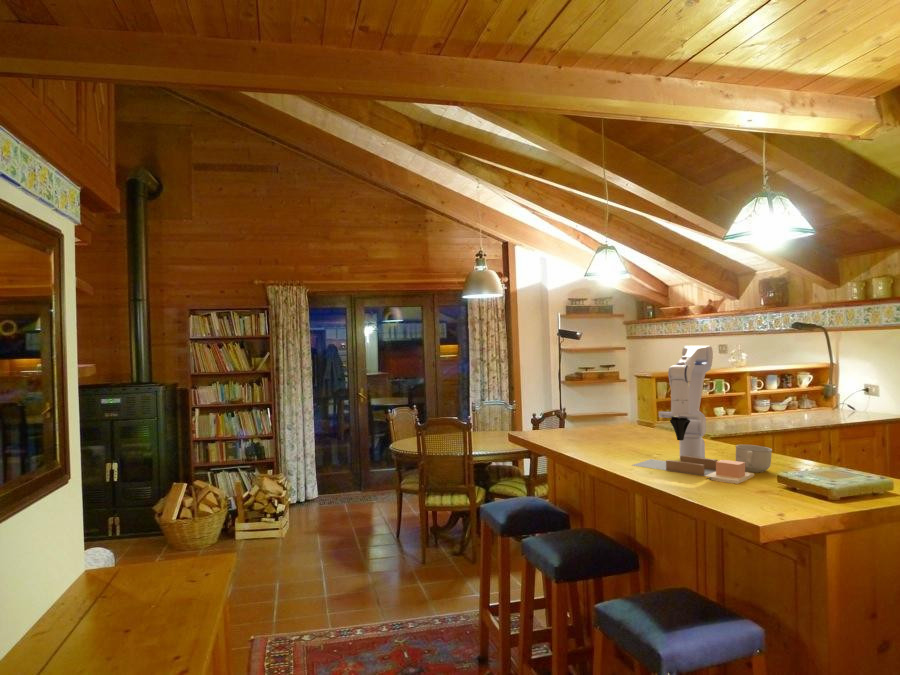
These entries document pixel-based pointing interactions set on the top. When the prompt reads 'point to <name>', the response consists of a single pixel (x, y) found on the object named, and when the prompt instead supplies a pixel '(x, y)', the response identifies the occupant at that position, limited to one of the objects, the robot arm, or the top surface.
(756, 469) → the teacup
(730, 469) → the terracotta block
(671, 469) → the tunnel board
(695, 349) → the robot arm
